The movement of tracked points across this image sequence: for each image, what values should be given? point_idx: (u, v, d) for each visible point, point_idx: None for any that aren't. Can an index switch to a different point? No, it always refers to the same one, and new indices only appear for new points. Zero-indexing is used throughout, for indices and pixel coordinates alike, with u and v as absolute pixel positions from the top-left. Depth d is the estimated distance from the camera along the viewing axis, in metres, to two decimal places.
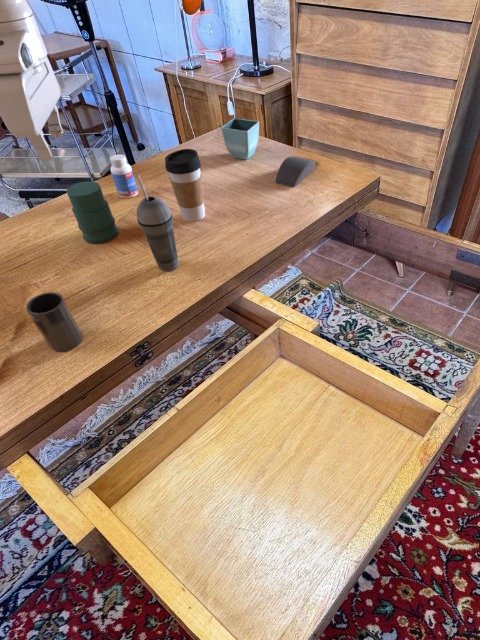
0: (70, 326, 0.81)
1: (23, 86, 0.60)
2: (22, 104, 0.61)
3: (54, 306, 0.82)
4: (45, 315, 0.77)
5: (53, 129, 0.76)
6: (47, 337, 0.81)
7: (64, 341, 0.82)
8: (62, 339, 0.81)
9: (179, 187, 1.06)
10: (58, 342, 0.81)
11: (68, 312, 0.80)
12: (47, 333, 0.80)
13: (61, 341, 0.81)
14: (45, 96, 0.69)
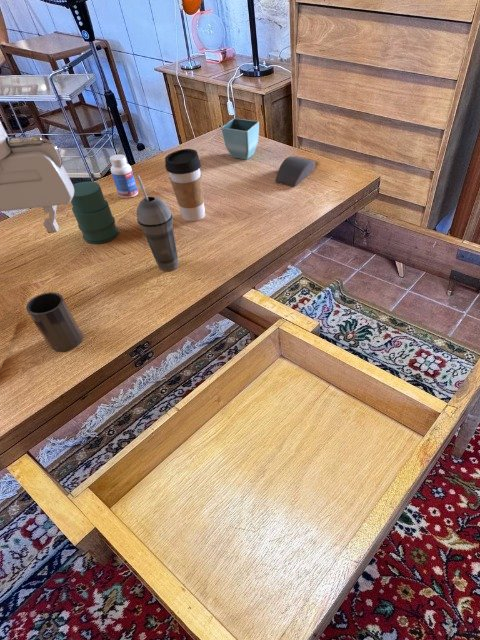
0: (70, 326, 0.81)
1: None
2: None
3: (54, 306, 0.82)
4: (45, 315, 0.77)
5: None
6: (47, 337, 0.81)
7: (64, 341, 0.82)
8: (62, 339, 0.81)
9: (179, 187, 1.06)
10: (58, 342, 0.81)
11: (68, 312, 0.80)
12: (47, 333, 0.80)
13: (61, 341, 0.81)
14: (0, 196, 0.65)
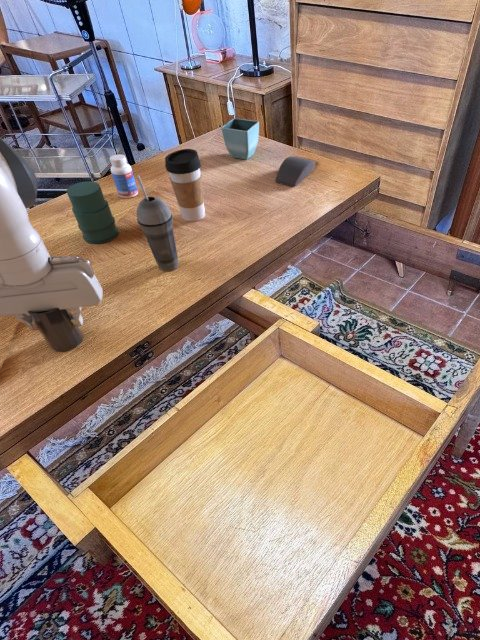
0: (70, 326, 0.81)
1: None
2: None
3: None
4: (45, 315, 0.77)
5: None
6: (47, 337, 0.81)
7: (64, 341, 0.82)
8: (62, 339, 0.81)
9: (179, 187, 1.06)
10: (58, 342, 0.81)
11: (68, 312, 0.80)
12: (47, 333, 0.80)
13: (61, 341, 0.81)
14: (41, 301, 0.76)
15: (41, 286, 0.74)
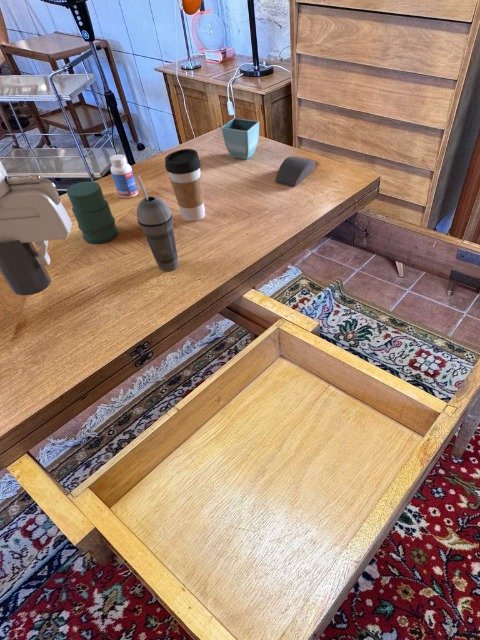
0: (35, 265, 0.71)
1: None
2: None
3: None
4: (3, 248, 0.67)
5: None
6: (8, 277, 0.70)
7: (28, 283, 0.72)
8: (26, 279, 0.71)
9: (179, 187, 1.06)
10: (21, 283, 0.71)
11: (32, 248, 0.70)
12: (7, 271, 0.70)
13: (24, 282, 0.71)
14: None
15: None
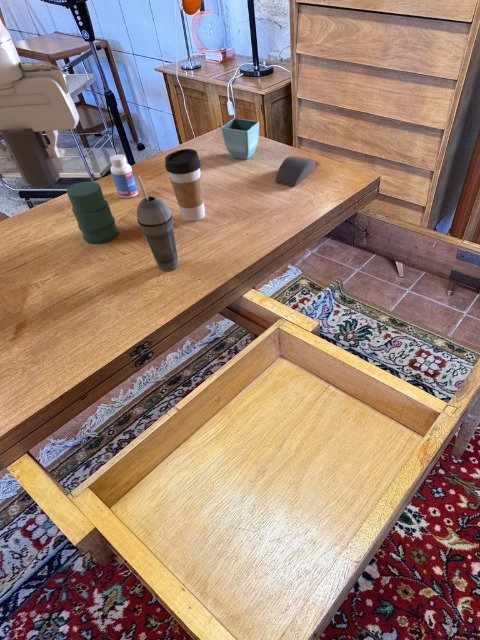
0: (45, 156, 0.78)
1: None
2: None
3: None
4: (17, 134, 0.74)
5: None
6: (21, 166, 0.78)
7: (39, 173, 0.79)
8: (37, 169, 0.78)
9: (179, 187, 1.06)
10: (33, 173, 0.78)
11: (43, 140, 0.77)
12: (21, 160, 0.77)
13: (36, 172, 0.78)
14: (13, 117, 0.73)
15: (13, 97, 0.71)
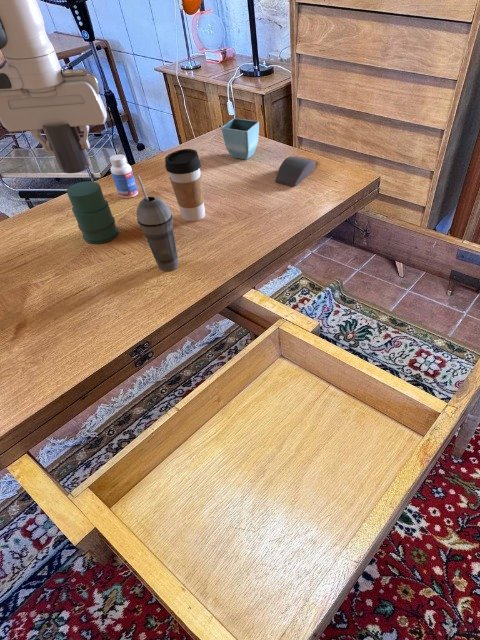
0: (78, 147, 0.94)
1: None
2: None
3: None
4: (57, 129, 0.89)
5: None
6: (59, 156, 0.93)
7: (74, 161, 0.94)
8: (72, 158, 0.94)
9: (179, 187, 1.06)
10: (68, 162, 0.94)
11: (77, 133, 0.93)
12: (59, 150, 0.92)
13: (71, 161, 0.94)
14: (54, 115, 0.88)
15: (54, 98, 0.86)
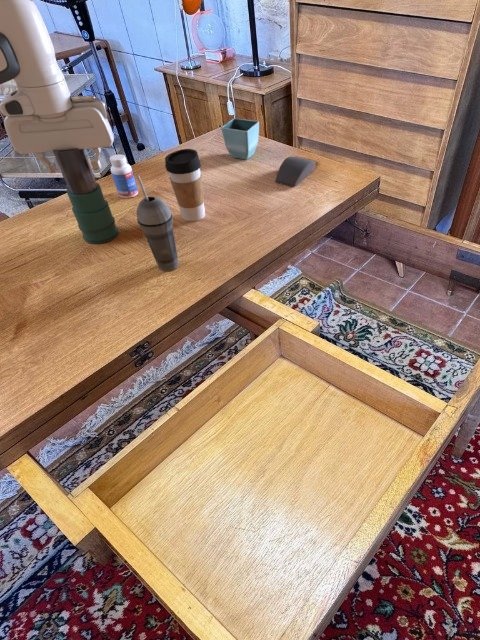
0: (87, 170, 0.97)
1: (5, 123, 0.87)
2: None
3: None
4: (67, 153, 0.93)
5: None
6: (68, 178, 0.97)
7: (82, 184, 0.98)
8: (81, 181, 0.97)
9: (179, 187, 1.06)
10: (77, 184, 0.97)
11: (86, 157, 0.96)
12: (68, 173, 0.96)
13: (80, 183, 0.97)
14: (63, 138, 0.92)
15: (64, 123, 0.90)
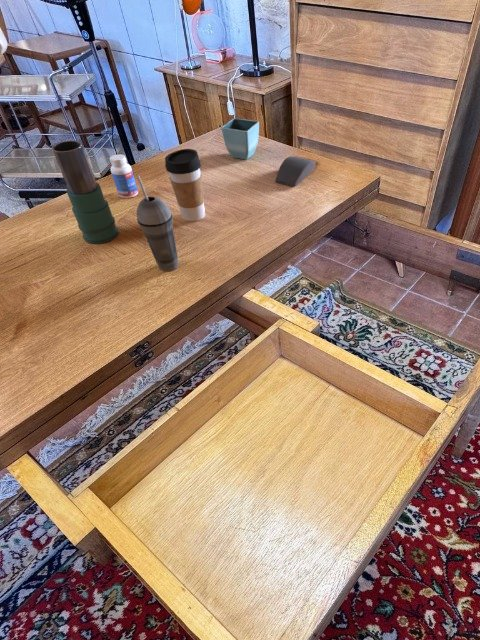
0: (87, 170, 0.97)
1: None
2: None
3: None
4: (67, 153, 0.93)
5: None
6: (68, 178, 0.97)
7: (82, 184, 0.98)
8: (81, 181, 0.97)
9: (179, 187, 1.06)
10: (77, 184, 0.97)
11: (86, 157, 0.96)
12: (68, 173, 0.96)
13: (80, 183, 0.97)
14: None
15: None
